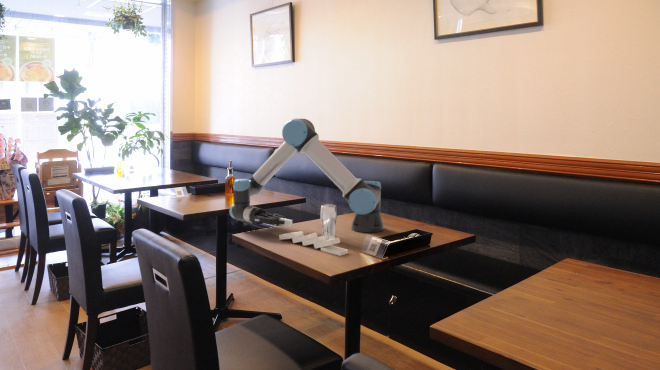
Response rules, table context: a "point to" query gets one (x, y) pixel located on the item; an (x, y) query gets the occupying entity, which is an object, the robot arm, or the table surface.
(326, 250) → the tile
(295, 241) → the tile
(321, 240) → the tile
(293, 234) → the tile
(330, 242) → the tile
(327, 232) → the silver metal tumbler
